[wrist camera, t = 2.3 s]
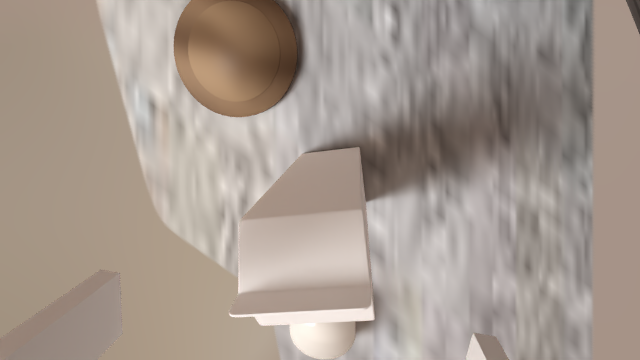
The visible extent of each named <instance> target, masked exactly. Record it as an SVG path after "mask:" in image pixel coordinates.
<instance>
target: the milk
mask: <svg viewBox="0 0 640 360" xmlns="http://www.w3.org/2000/svg"><path fill="white" fill-rule="evenodd" d="M238 282H239V283H238V284H239V286H238V287H239V288H238V295H237V297H236V299H235V301H234V303H233V304H232V306H231V308H230V309H229V315H230V316H232V317H248V316H254V317H255V318H256V320H257V321H258V323H259V324H260V325H262V326H265V325H287V324H308V323H329V322H350V321H371V320H375V313H374V300H373V288H372V275H371V262H370V250H369V237H368V224H367V212H366V200H365V191H364V182H363V173H362V164H361V155H360V147H354V148H346V149H337V150H329V151H321V152H312V153H304V154H301V156H300V157H299V158H298V159H297V160H296V161H295V162H294V163H293V164H292V165H291V166H290V167H289V168H288V169H287V170H286V172H285V173H284V174H283V175H282V176H281V177H280V178H279V179H278V180H277V181H276V182H275V183H274V184H273V185H272V187H271V188H270V189H269V190H268V191H267V192H266V193H265V194H264V195H263V196H262V197H261V198H260V199H259V200H258V201H257V203H256V204H255V205H254V206H253V207H252V208H251V209H250V210H249V211H248V212H247V213H246V214H245V215H244V216H243V217H242V219H241V220H240V221H239V281H238Z"/></svg>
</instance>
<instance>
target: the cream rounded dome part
mask: <svg viewBox="0 0 640 360" xmlns="http://www.w3.org/2000/svg"><path fill="white" fill-rule="evenodd" d="M290 335H291V338H292V340H293V342H294V344H295V345H296V346H297V348H298V349H299V350H300V351H302V352H303V353H305V354H306V355H308V356H310V357H313V358H317V359H333V358H337V357H339V356H341V355H343V354H345V353H346V352H347V351H348V350H349V349H350V348H351V346H352V345H353V343H354V340H355V321H350V322H329V323H308V324H290Z"/></svg>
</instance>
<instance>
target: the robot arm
mask: <svg viewBox="0 0 640 360" xmlns="http://www.w3.org/2000/svg"><path fill="white" fill-rule="evenodd" d="M626 2H627V4H628V6H629V9H630V11H631V14H632V16H633V18H634V21H635V24H636V26H637V29H638V31H639V34H640V0H626ZM121 316H122V315H121V291H120V273H117V272H111V271H105V270H100V271H98V272H97V273H95V274H94V275H92V276H91V277H89V278H88V279H86V280H85V281H83V282H82V283H81V284H79V285H78V286H76V287H75V288H73V289H72V290H70V291H69V292H67V293H66V294H64V295H63V296H61V297H60V298H58V299H57V300H56V301H54V302H53V303H51V304H50V305H48V306H47V307H45V308H44V309H42V310H41V311H39V312H38V313H36V314H35V315H34V316H32V317H31V318H29V319H28V320H26V321H25V322H24V323H22V324H20V325H19V326H17V327H16V328H14V329H13V330H12V331H10V332H9V333H7V334H6V335H4V336H3V337H1V338H0V360H97V359H98V358H99V357H100V356H101V355H102V354H103V353H104V352H105V351H106V350H107V349H108V348H109V347H110V346H111V345H112V344H113V343H114V342H115V341H116V340H117V339H118V338H119V337H120V336H121V335H122V317H121ZM466 360H509V359H508V357H507V355H506V354H505V352H504V350H503V348H502V347H501V345H500V343H499V342H498V340H497V338H496V337H495V336H489V335H483V334H477V333H473V335H472V339H471V342H470V346H469V350H468V353H467V357H466Z"/></svg>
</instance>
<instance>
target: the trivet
mask: <svg viewBox="0 0 640 360" xmlns="http://www.w3.org/2000/svg"><path fill="white" fill-rule="evenodd" d="M297 53H298V52H297V43H296V38H295V34H294V31H293V28H292V25H291V23H290V21H289V19H288V18H287V16H286V15H285V13H284V11H283V10H282V9H281V8H280V7H279V5H278V4H277V3H276V2H275V1H274V0H191V1H190V2H189V4H188V5H187V6H186V7H185V9H184V11H183V12H182V14H181V16H180V18H179V21H178V24H177V27H176V31H175V36H174V56H175V62H176V66H177V69H178V72H179V75H180V77H181V79H182V81H183V83H184V85H185V87H186V88H187V89H188V91H189V92H190V93H191V95H192V96H193V97H194V98H195V99H196V100H197V101H198V102H200V103H201V104H202V105H203V106H205V107H206V108H208V109H210V110H212V111H214V112H216V113H219V114H221V115H225V116H230V117H246V116H251V115H256V114H259V113H261V112H264V111H265V110H267V109H269V108H271V107H272V106H273V105H275V104H276V103H277V102H278V101H279V100H280V99H281V98H282V97H283V96H284V94H285V93H286V92H287V90H288V88H289V87H290V85H291V82H292V80H293V78H294V74H295V71H296V66H297Z"/></svg>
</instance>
